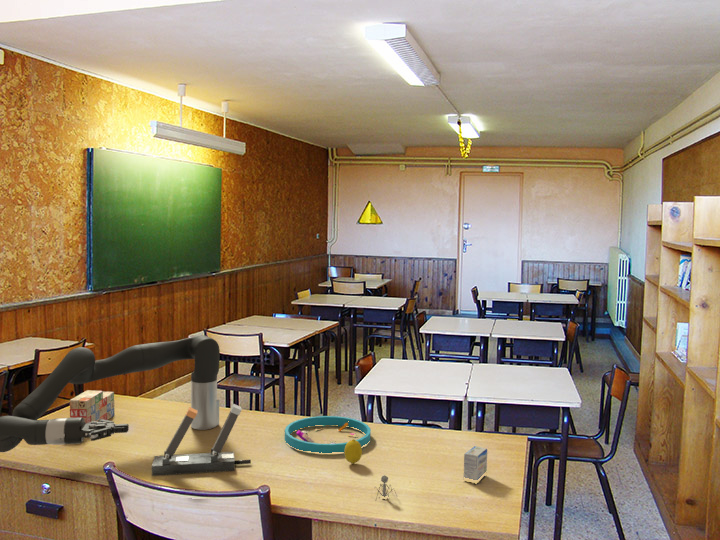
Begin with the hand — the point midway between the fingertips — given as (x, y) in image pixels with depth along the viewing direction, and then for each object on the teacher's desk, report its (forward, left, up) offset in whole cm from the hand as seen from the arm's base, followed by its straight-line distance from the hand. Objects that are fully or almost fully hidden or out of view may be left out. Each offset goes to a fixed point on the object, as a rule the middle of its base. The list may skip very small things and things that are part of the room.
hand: (128, 428), depth 187 cm
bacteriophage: (-39, +66, -14) cm, 78 cm away
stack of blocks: (-14, -49, -14) cm, 53 cm away
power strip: (-17, +13, -14) cm, 25 cm away
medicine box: (-68, +78, -14) cm, 105 cm away
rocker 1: (-9, +7, -10) cm, 15 cm away
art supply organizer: (-62, +23, -14) cm, 68 cm away
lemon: (-51, +44, -14) cm, 69 cm away
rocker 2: (-20, +15, -10) cm, 27 cm away
